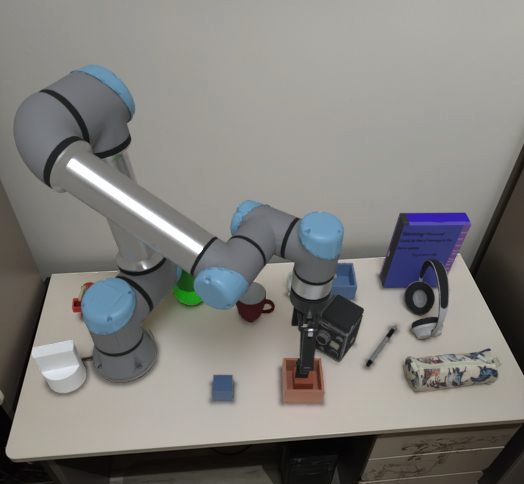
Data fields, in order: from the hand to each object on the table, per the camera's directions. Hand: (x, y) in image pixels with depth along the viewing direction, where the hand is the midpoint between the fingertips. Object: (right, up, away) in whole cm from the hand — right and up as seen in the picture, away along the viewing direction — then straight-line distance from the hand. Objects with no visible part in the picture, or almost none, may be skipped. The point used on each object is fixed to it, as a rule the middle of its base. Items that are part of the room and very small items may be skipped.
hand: (299, 349), depth 107 cm
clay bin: (+1, -10, +12) cm, 16 cm away
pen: (+23, -1, +21) cm, 31 cm away
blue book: (+35, +16, +36) cm, 53 cm away
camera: (+9, -1, +20) cm, 22 cm away
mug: (-10, +6, +25) cm, 28 cm away
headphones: (+35, +5, +26) cm, 44 cm away
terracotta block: (+2, -10, +12) cm, 15 cm away
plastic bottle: (-28, +11, +28) cm, 41 cm away
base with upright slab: (-56, -8, +12) cm, 57 cm away
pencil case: (+37, -9, +15) cm, 41 cm away
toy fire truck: (-55, +8, +25) cm, 61 cm away
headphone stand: (+2, +12, +31) cm, 34 cm away
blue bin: (+13, +15, +33) cm, 39 cm away
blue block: (-18, -11, +10) cm, 23 cm away
